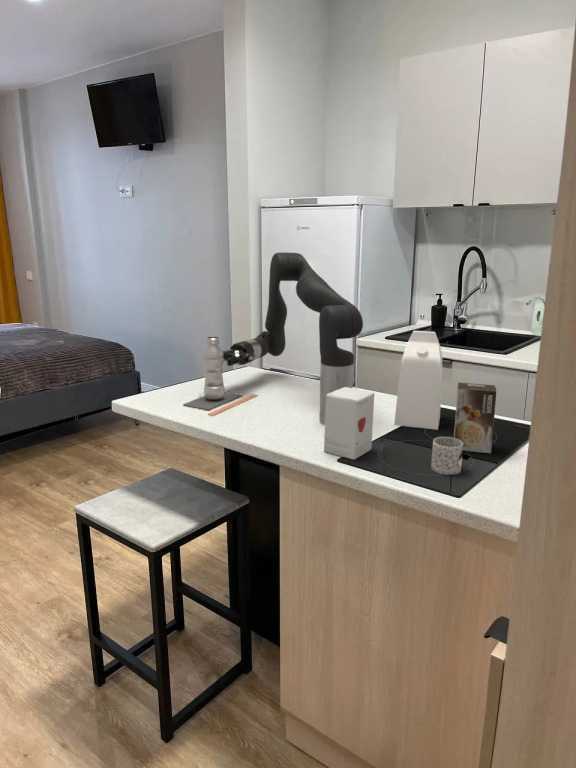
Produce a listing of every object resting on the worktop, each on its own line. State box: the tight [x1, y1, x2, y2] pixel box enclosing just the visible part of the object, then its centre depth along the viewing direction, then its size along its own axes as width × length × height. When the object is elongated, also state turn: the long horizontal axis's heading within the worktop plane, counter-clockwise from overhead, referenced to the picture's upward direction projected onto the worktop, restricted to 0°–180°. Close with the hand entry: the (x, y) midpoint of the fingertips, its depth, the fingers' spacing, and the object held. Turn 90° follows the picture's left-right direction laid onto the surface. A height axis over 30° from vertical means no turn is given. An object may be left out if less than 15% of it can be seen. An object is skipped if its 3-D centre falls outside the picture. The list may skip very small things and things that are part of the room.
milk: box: [393, 330, 443, 431], centre depth 157 cm, size 12×12×26 cm
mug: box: [430, 436, 463, 476], centre depth 129 cm, size 10×7×7 cm
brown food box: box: [453, 382, 497, 454], centre depth 138 cm, size 9×6×16 cm
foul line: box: [207, 393, 259, 417], centre depth 174 cm, size 2×24×1 cm, turn 150°
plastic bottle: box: [202, 336, 226, 400], centre depth 175 cm, size 6×7×20 cm
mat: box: [182, 391, 244, 412], centre depth 177 cm, size 10×18×1 cm, turn 150°
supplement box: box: [323, 387, 375, 461], centre depth 136 cm, size 9×9×15 cm
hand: (217, 361), depth 176 cm, fingers open, 8 cm apart
